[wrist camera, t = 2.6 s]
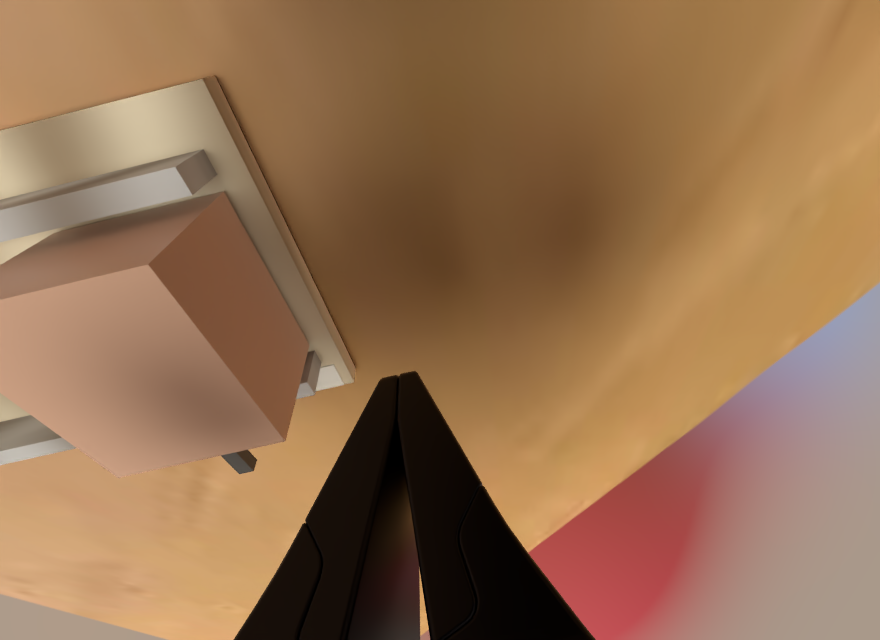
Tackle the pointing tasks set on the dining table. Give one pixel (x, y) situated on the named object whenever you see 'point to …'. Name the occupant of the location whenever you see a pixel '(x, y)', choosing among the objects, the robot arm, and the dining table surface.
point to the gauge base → (143, 188)
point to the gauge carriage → (152, 339)
